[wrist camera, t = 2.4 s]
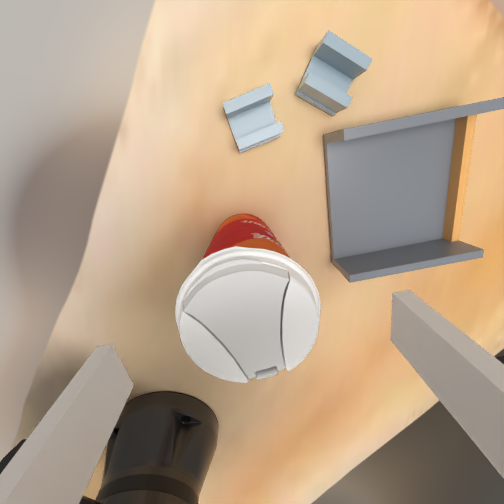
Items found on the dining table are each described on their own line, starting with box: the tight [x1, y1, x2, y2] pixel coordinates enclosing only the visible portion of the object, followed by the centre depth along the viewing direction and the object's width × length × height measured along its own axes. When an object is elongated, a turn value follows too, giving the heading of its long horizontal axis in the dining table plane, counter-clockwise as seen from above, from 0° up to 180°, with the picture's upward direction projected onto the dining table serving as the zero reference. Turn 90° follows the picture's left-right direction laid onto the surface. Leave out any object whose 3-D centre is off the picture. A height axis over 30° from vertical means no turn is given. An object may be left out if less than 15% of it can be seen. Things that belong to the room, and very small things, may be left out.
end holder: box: [323, 97, 504, 282], centre depth 23 cm, size 13×14×5 cm
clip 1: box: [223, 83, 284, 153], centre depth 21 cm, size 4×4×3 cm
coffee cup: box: [175, 214, 321, 383], centre depth 19 cm, size 8×8×15 cm
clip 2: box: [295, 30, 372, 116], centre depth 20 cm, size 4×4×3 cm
